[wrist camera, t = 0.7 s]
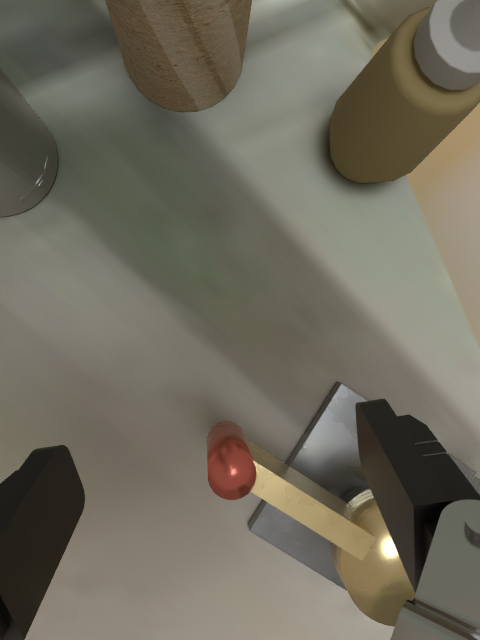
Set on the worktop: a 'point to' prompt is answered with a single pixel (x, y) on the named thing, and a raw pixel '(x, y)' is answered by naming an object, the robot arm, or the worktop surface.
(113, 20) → the tube
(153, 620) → the worktop surface
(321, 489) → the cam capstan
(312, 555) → the stand
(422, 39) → the squeeze bottle
